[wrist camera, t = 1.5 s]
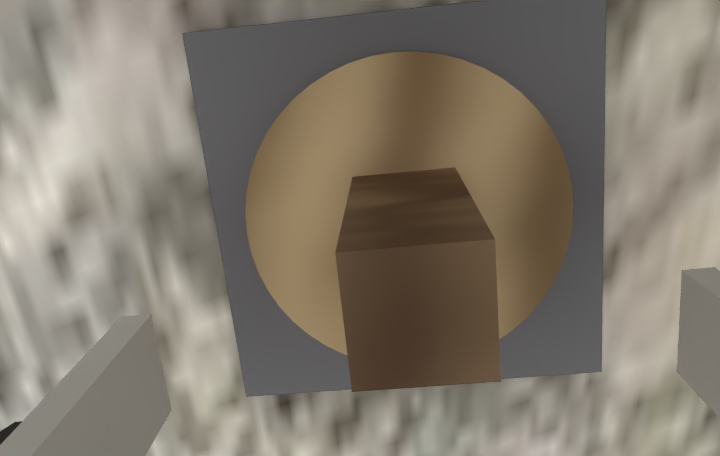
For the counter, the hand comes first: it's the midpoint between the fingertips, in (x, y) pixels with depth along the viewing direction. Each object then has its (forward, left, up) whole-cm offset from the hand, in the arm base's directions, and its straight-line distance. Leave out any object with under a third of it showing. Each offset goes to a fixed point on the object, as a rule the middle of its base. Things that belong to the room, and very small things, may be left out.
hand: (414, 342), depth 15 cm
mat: (0, 0, -11) cm, 11 cm away
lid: (0, 0, -11) cm, 11 cm away
